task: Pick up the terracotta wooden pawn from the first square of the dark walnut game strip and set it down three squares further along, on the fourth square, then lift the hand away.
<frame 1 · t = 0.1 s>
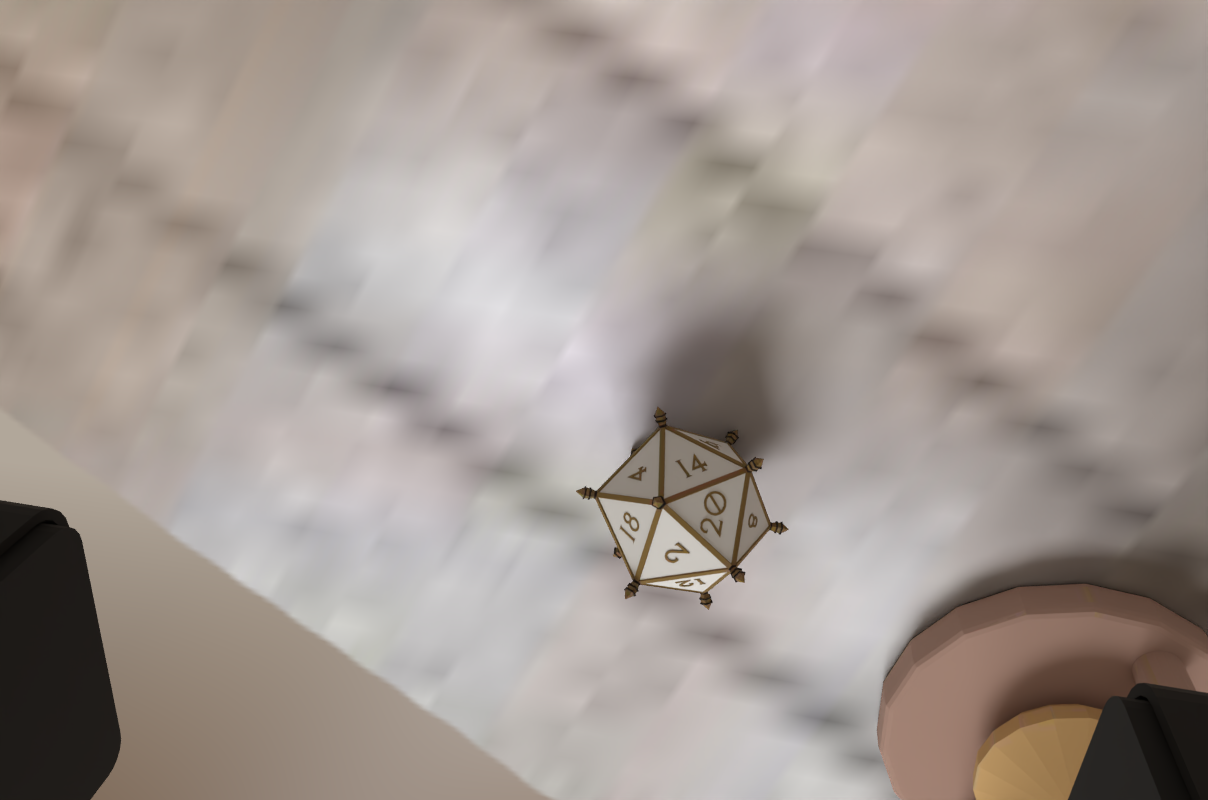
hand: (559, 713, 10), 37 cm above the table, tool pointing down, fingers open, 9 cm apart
game die: (691, 464, 51), on the table
hourglass: (1050, 715, 54), on the table
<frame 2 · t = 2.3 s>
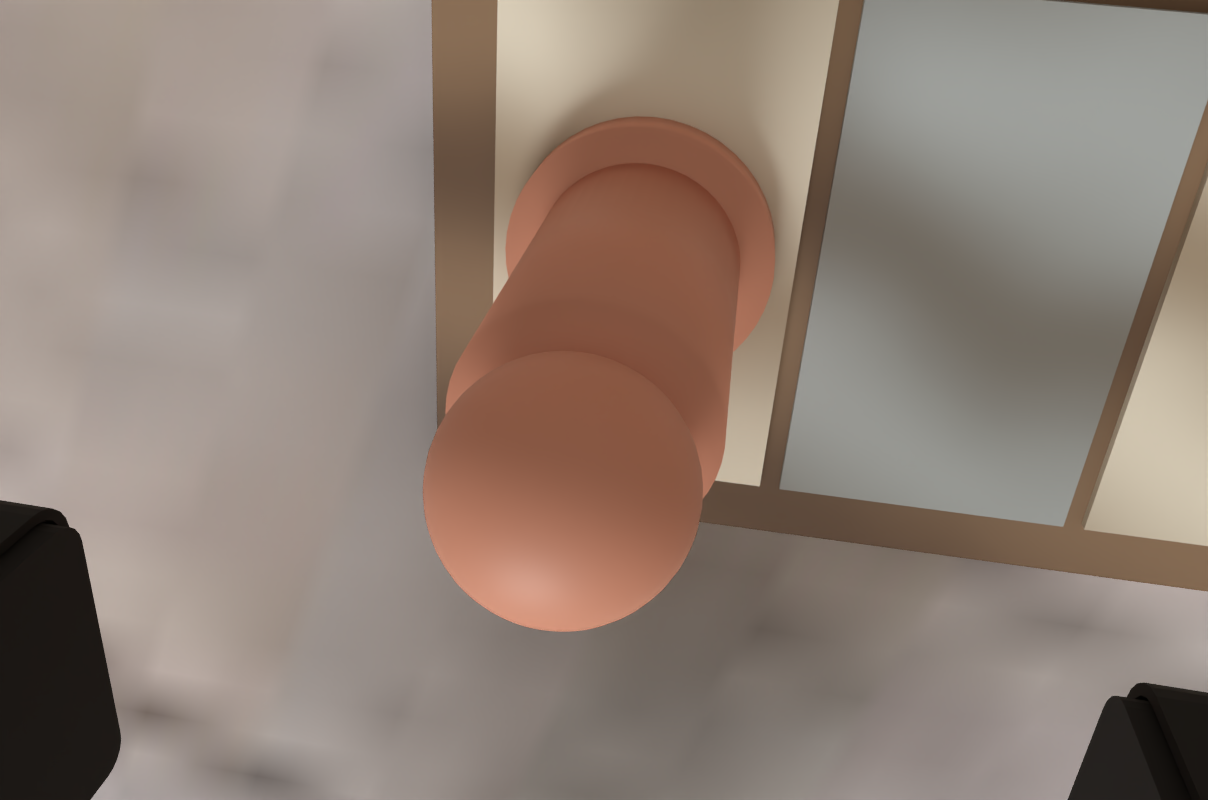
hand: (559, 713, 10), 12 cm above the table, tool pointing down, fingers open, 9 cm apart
pawn: (642, 248, 19), point 1 cm above the table, touching board
board: (1130, 280, 19), on the table
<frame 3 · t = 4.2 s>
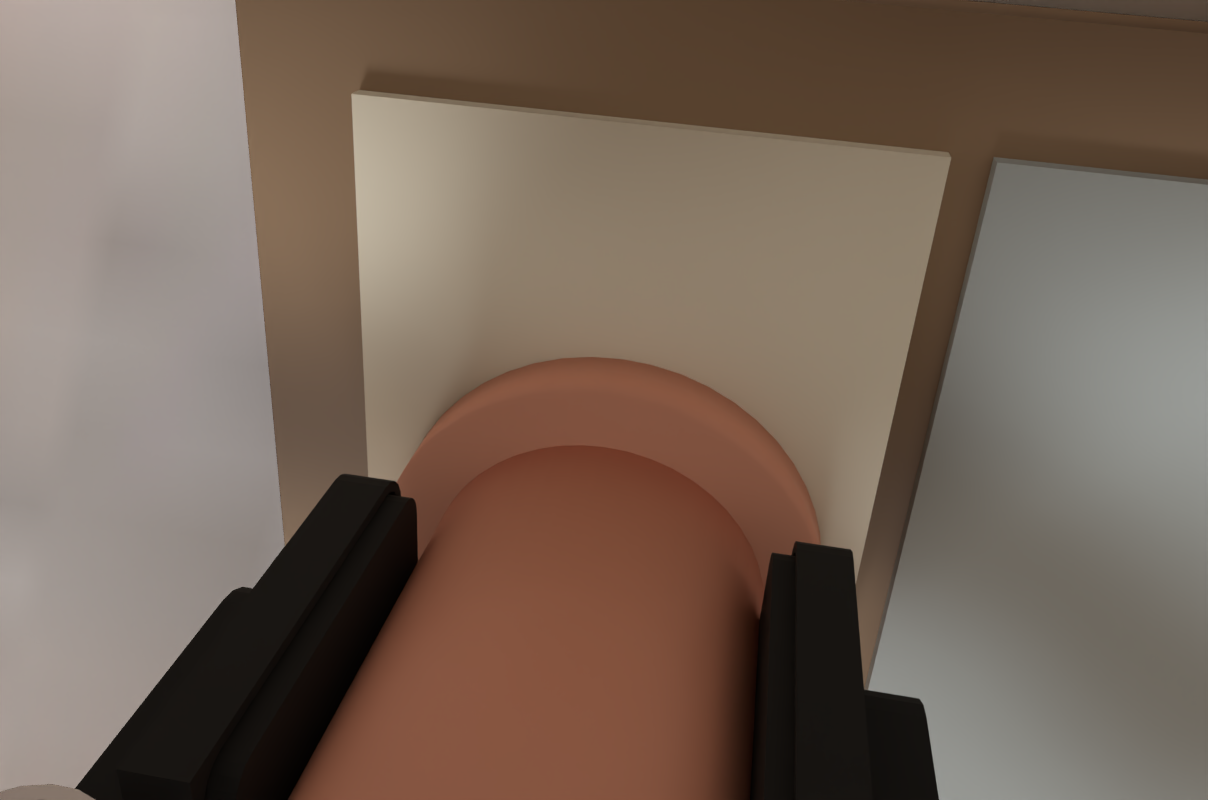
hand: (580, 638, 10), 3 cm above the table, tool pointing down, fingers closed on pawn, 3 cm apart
pawn: (605, 549, 12), point 1 cm above the table, touching board, gripper
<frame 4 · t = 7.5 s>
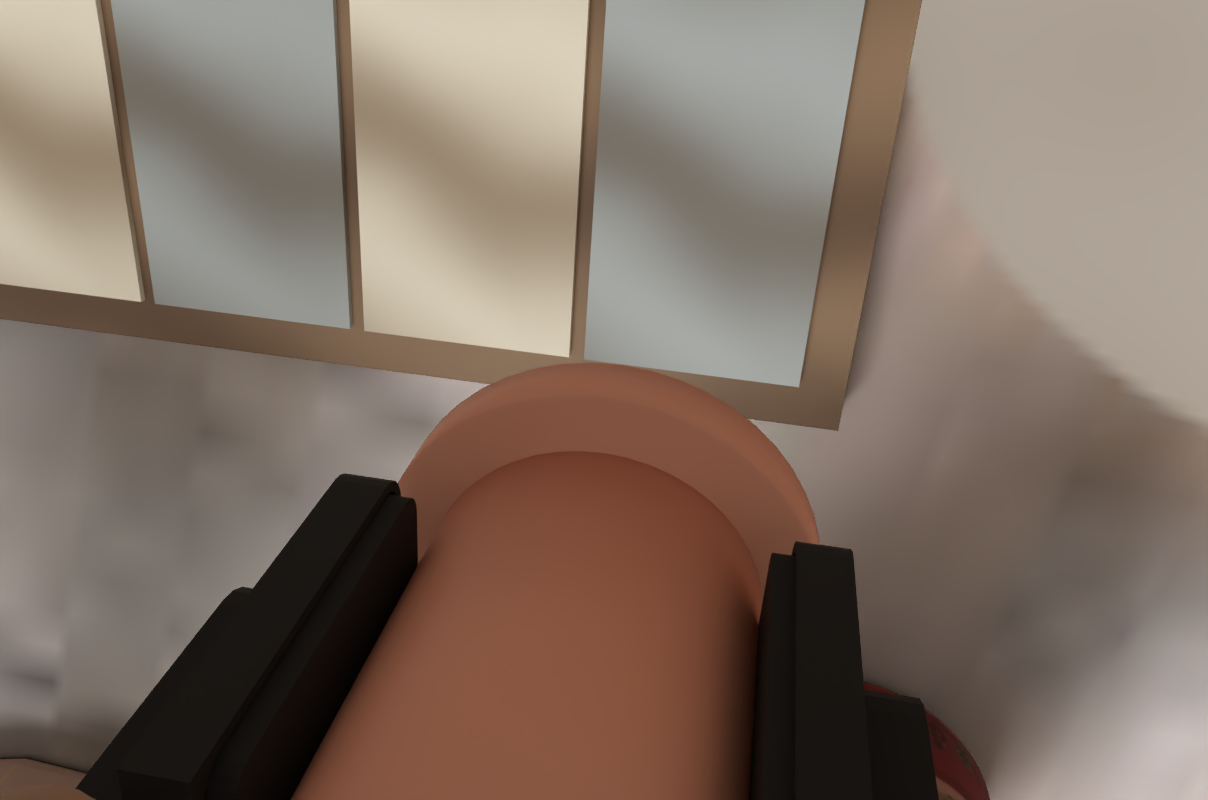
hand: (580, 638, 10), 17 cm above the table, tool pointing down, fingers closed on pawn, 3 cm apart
pawn: (604, 554, 12), point 16 cm above the table, touching gripper
board: (365, 141, 27), on the table
when the fingers open (4 cm above the table, at t = 10.7 s): pawn drops 1 cm, resting on board.
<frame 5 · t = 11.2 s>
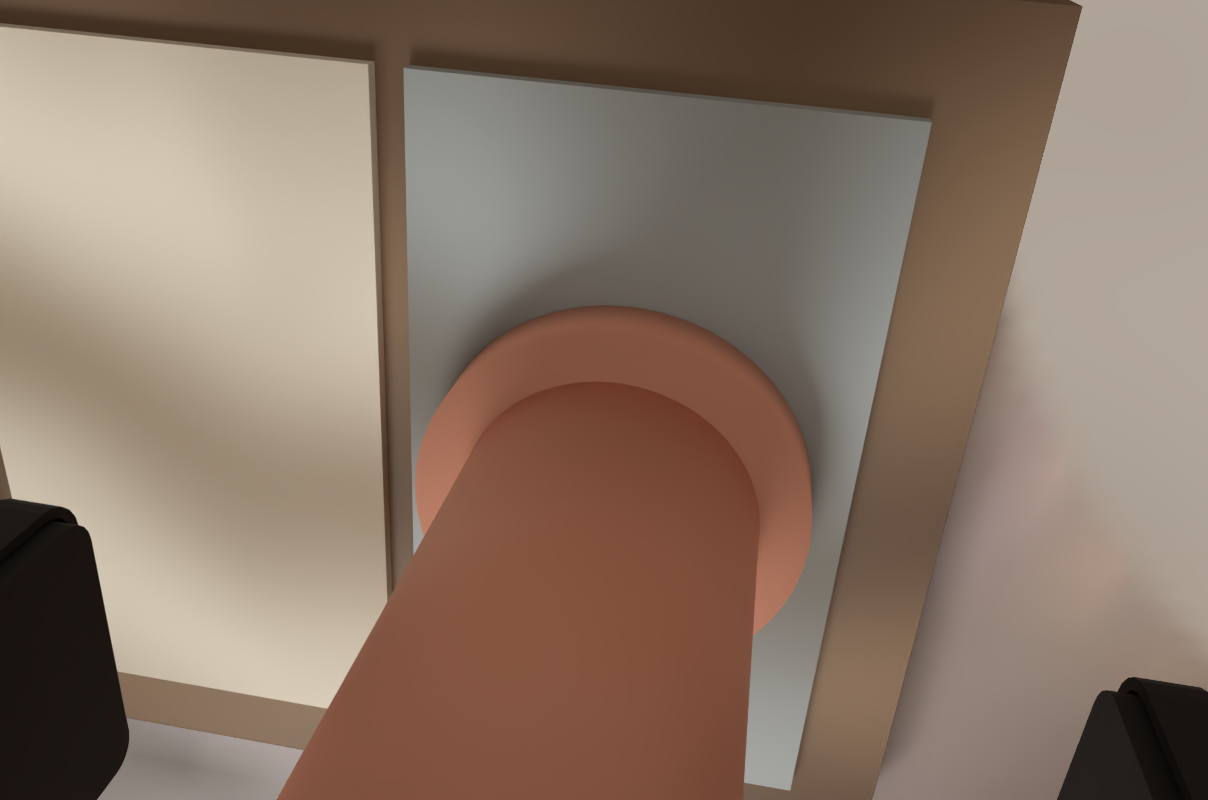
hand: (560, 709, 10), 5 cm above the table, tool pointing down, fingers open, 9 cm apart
pawn: (618, 482, 13), point 1 cm above the table, touching board
board: (30, 350, 15), on the table
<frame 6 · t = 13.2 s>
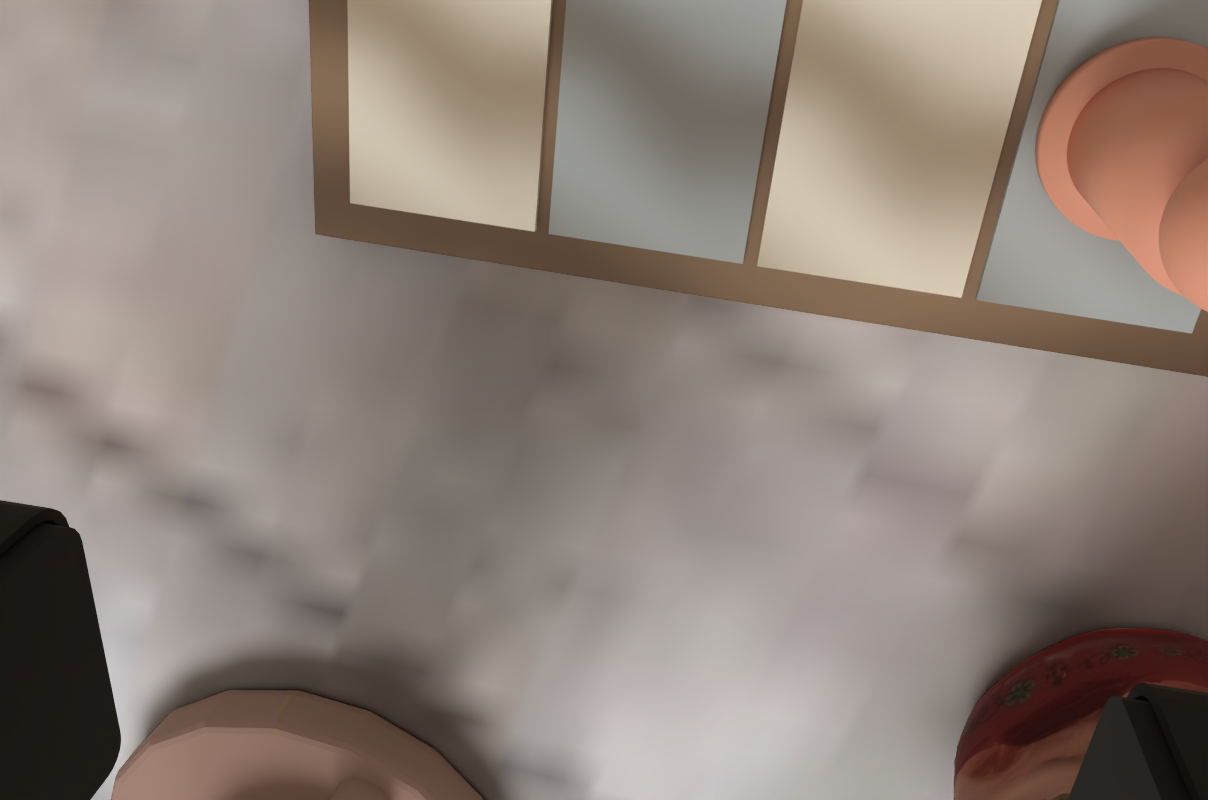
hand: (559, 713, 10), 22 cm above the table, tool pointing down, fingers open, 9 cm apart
pawn: (1137, 138, 26), point 1 cm above the table, touching board
decorative planter: (1080, 757, 36), on the table
board: (781, 82, 28), on the table
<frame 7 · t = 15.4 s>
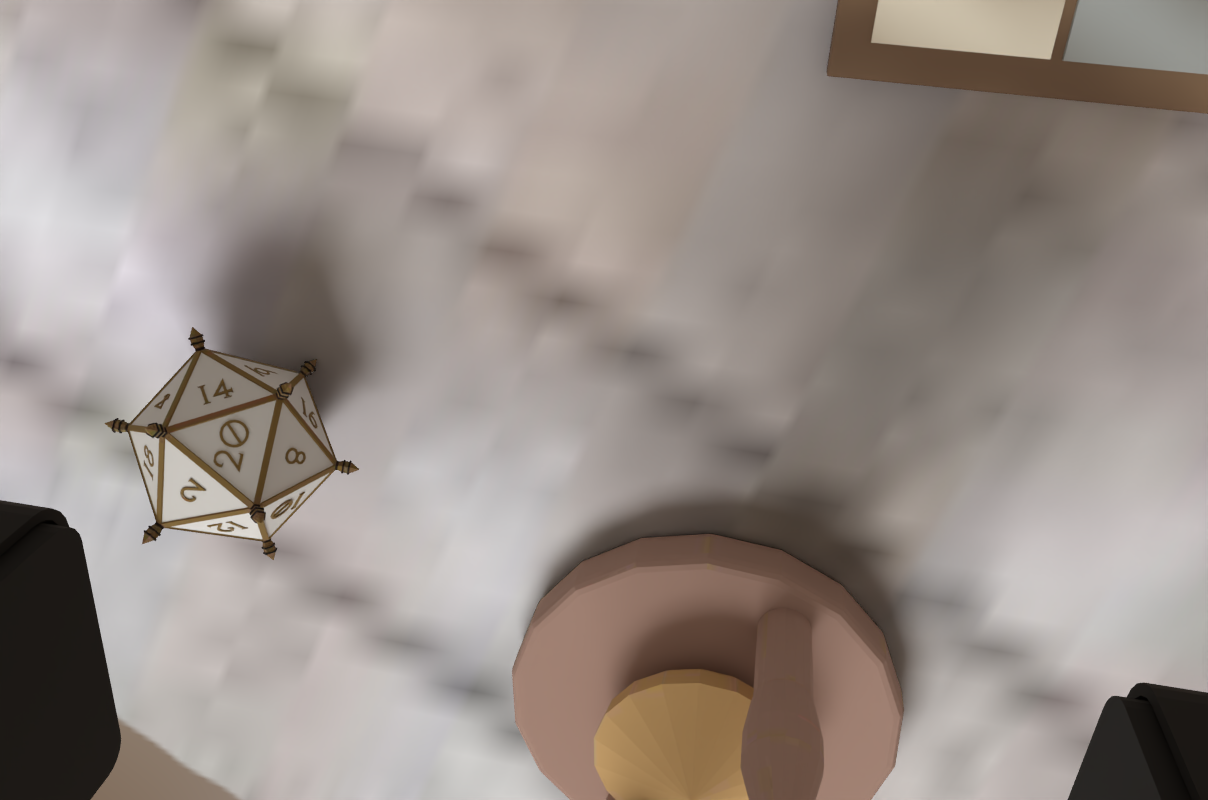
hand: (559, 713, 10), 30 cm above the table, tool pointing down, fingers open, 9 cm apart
game die: (279, 399, 45), on the table
hourglass: (704, 684, 49), on the table
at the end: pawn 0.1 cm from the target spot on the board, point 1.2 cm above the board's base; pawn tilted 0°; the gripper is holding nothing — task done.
